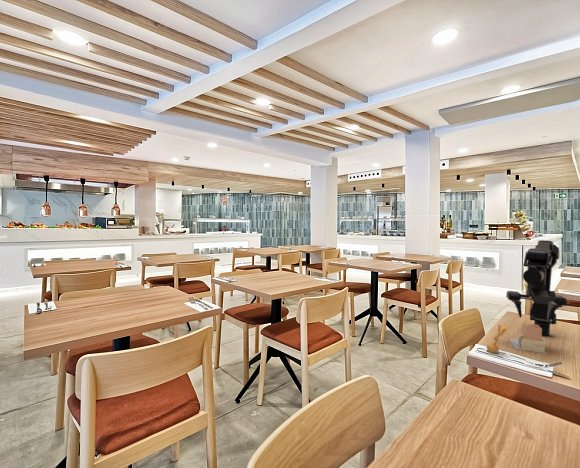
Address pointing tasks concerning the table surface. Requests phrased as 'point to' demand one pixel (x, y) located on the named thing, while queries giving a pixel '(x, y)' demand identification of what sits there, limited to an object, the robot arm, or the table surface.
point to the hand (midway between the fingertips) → (534, 318)
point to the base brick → (531, 344)
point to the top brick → (532, 332)
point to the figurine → (492, 346)
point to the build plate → (517, 346)
